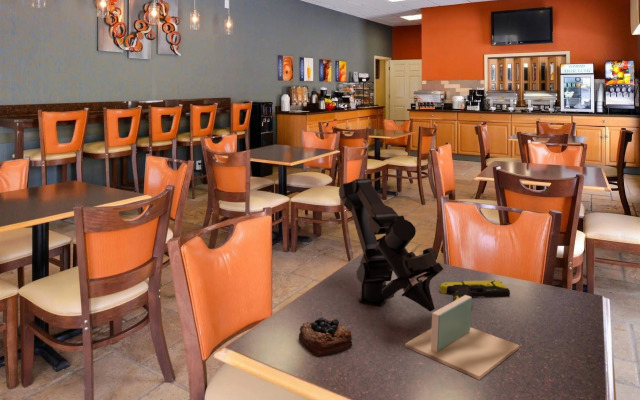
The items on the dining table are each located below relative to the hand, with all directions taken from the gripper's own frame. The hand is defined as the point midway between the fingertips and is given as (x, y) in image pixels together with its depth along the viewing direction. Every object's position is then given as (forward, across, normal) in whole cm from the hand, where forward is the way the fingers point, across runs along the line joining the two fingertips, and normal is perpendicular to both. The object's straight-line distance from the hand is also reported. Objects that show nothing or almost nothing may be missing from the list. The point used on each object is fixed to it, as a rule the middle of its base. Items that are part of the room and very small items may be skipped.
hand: (432, 310), depth 121 cm
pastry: (-6, -21, +16) cm, 27 cm away
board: (+10, 0, -1) cm, 11 cm away
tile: (+8, 0, 0) cm, 8 cm away
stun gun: (+3, +28, +8) cm, 29 cm away
